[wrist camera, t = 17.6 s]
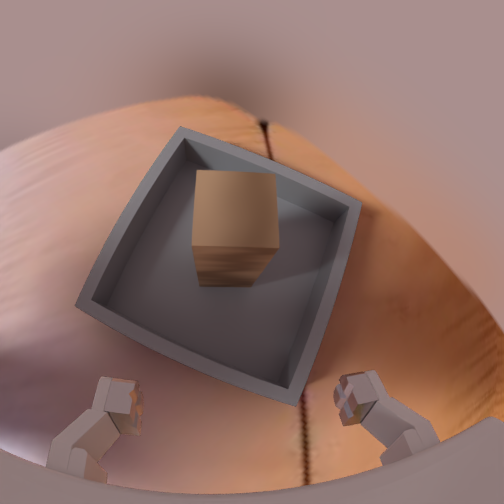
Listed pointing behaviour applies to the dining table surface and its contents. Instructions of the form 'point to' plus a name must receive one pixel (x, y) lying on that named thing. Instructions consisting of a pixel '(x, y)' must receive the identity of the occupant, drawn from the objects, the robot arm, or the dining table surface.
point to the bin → (224, 298)
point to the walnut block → (234, 226)
